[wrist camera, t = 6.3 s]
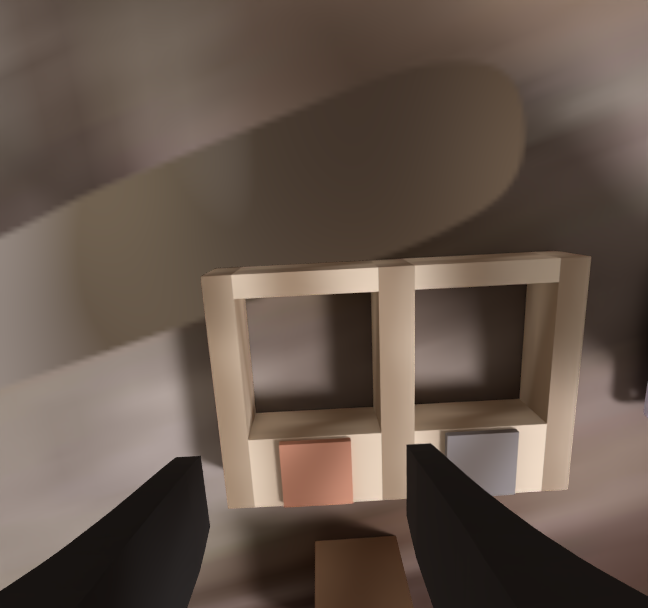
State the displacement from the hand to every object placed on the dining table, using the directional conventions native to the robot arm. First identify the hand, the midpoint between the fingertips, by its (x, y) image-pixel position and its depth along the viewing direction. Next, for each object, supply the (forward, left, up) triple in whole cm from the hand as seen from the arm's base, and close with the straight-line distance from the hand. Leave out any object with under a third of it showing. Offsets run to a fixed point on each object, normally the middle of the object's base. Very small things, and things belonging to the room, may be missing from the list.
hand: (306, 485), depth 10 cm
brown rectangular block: (-2, +11, -8) cm, 14 cm away
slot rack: (-4, +1, -10) cm, 11 cm away
